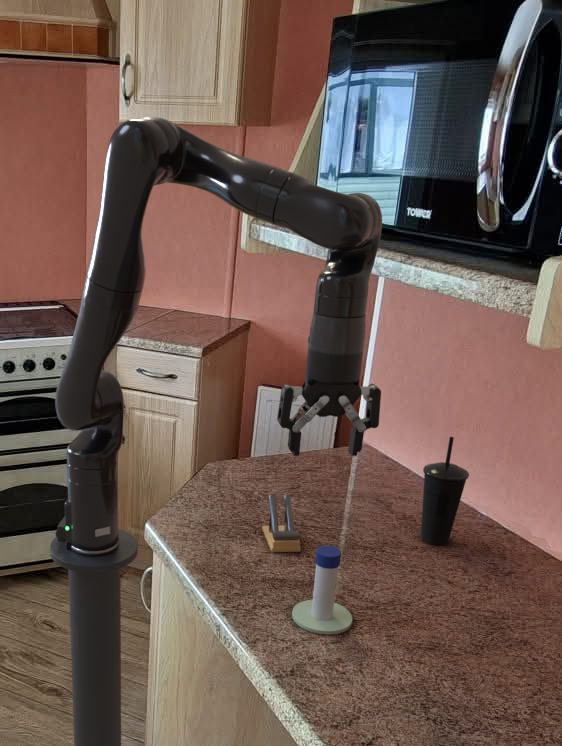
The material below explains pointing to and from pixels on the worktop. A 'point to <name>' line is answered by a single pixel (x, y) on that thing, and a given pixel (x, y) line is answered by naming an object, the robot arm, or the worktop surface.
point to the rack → (281, 529)
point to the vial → (325, 581)
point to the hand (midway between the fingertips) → (324, 454)
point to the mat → (332, 626)
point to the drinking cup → (441, 499)
